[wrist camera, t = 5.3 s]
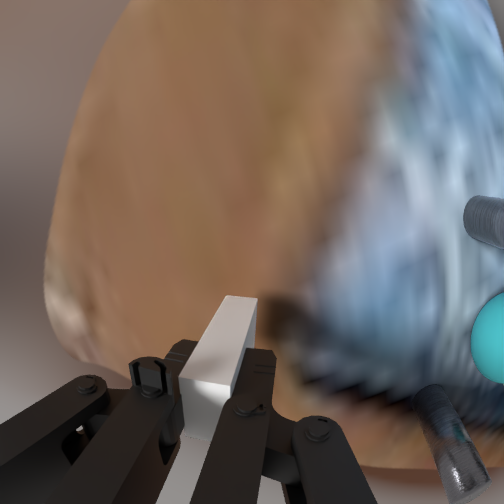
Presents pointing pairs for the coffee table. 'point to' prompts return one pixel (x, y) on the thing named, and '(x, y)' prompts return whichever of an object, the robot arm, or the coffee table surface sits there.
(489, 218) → the gate post
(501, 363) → the ball
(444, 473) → the gate post
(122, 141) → the coffee table surface
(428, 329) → the coffee table surface
